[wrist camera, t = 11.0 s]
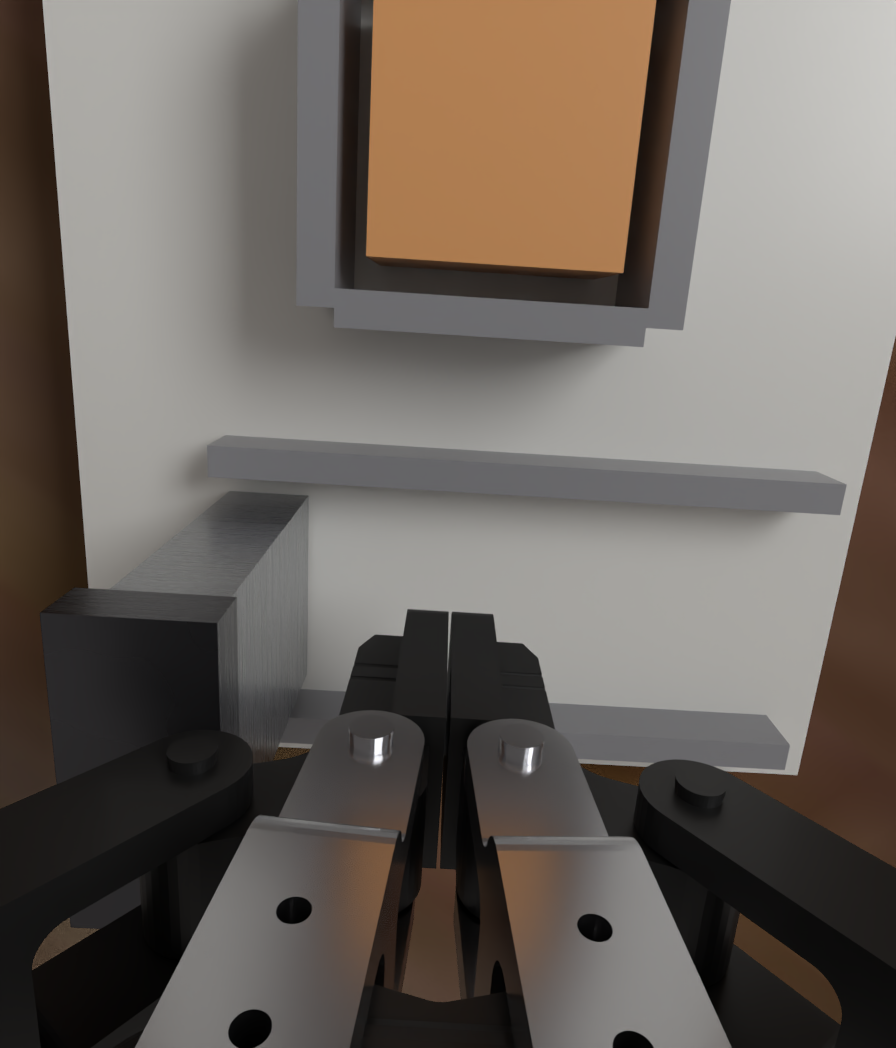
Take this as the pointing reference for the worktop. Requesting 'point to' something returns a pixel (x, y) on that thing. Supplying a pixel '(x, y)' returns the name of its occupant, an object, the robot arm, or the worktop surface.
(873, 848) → the worktop surface
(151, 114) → the control panel
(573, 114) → the push button
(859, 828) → the worktop surface
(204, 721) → the slide paddle
